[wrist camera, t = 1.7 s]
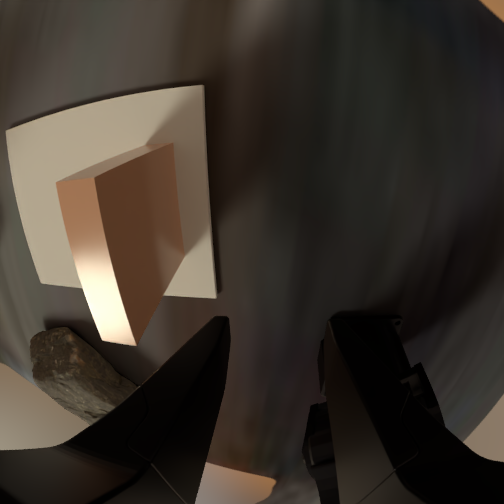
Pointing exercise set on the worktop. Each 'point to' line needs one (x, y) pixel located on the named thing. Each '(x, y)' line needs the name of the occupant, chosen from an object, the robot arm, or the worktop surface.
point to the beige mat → (102, 148)
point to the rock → (76, 374)
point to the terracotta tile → (124, 236)
